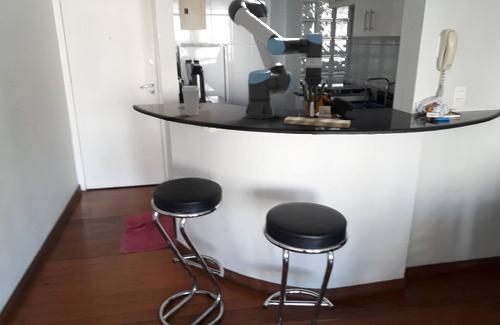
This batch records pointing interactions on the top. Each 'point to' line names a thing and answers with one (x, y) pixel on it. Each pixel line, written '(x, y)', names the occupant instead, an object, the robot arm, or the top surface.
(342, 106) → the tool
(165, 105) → the top surface
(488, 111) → the top surface
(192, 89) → the coffee cup
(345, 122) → the board
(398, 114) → the top surface
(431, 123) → the top surface
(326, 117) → the architectural model
